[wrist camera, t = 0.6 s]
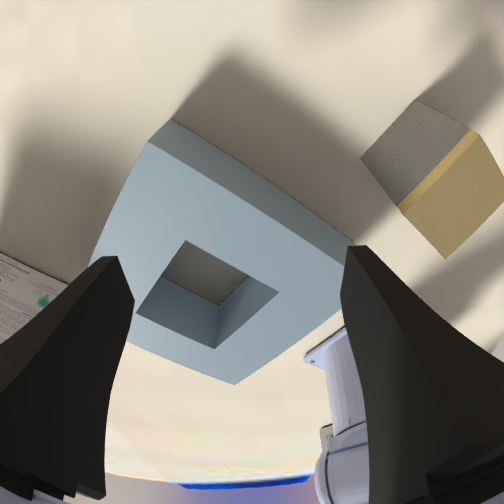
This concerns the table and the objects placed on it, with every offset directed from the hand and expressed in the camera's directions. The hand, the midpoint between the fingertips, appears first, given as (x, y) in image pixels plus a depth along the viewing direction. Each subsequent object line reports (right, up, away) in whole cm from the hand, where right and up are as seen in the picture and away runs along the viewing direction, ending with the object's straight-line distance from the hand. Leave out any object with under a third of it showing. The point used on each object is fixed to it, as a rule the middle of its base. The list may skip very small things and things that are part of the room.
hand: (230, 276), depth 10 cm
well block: (-2, 0, +12) cm, 12 cm away
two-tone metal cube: (+10, +7, +7) cm, 14 cm away
